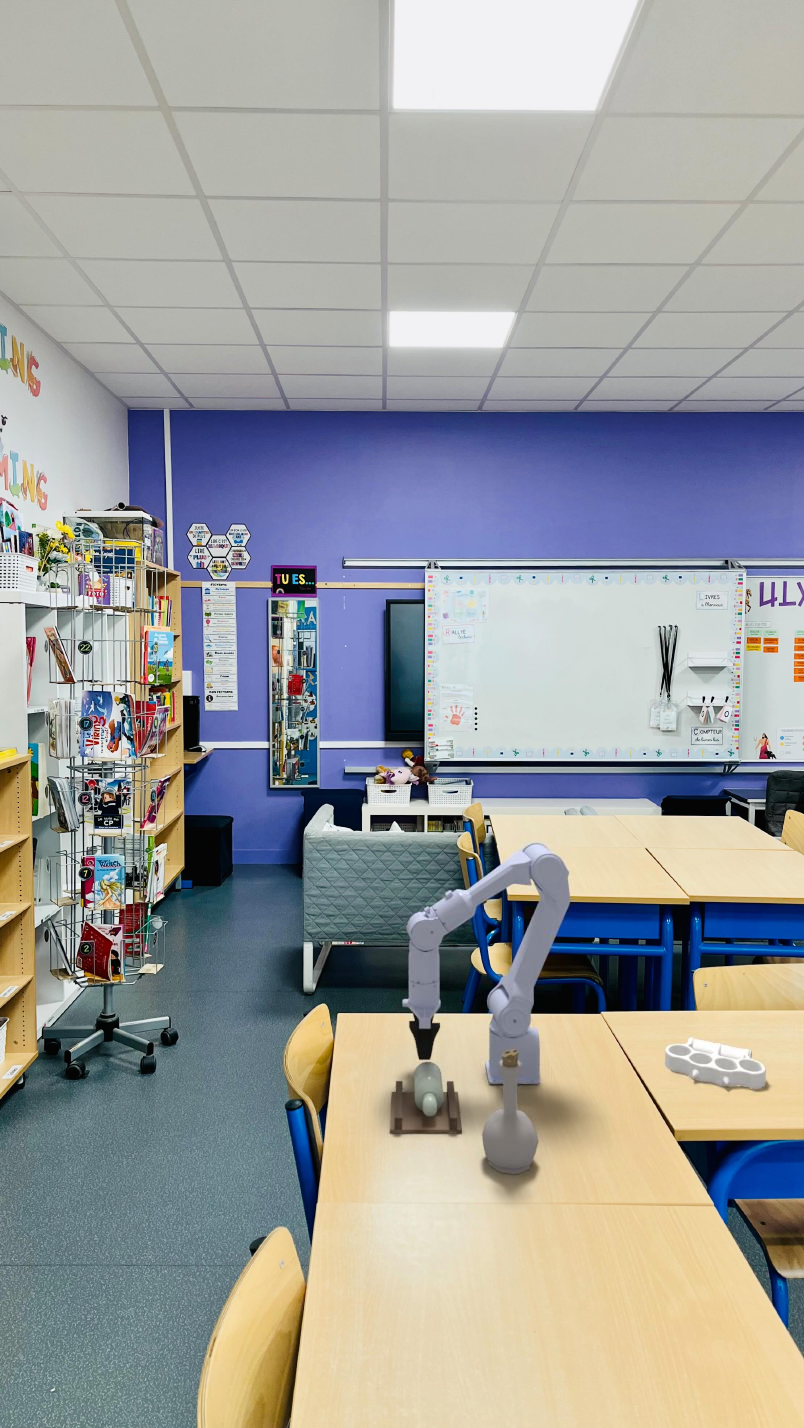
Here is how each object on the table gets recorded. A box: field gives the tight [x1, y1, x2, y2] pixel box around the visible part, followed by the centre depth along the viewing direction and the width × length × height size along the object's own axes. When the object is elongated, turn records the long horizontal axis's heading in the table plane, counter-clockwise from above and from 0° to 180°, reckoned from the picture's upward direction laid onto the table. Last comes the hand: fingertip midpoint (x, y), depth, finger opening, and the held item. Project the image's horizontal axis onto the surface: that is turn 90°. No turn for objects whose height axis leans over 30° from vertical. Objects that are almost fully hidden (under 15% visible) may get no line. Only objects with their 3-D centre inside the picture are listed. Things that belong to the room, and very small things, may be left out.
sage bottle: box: [413, 1061, 444, 1116], centre depth 146 cm, size 5×5×12 cm
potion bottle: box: [481, 1049, 539, 1175], centre depth 131 cm, size 9×9×18 cm
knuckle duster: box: [664, 1036, 767, 1090], centre depth 160 cm, size 3×18×15 cm
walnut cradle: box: [389, 1080, 463, 1134], centre depth 145 cm, size 12×12×3 cm
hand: (424, 1049), depth 156 cm, fingers open, 7 cm apart
